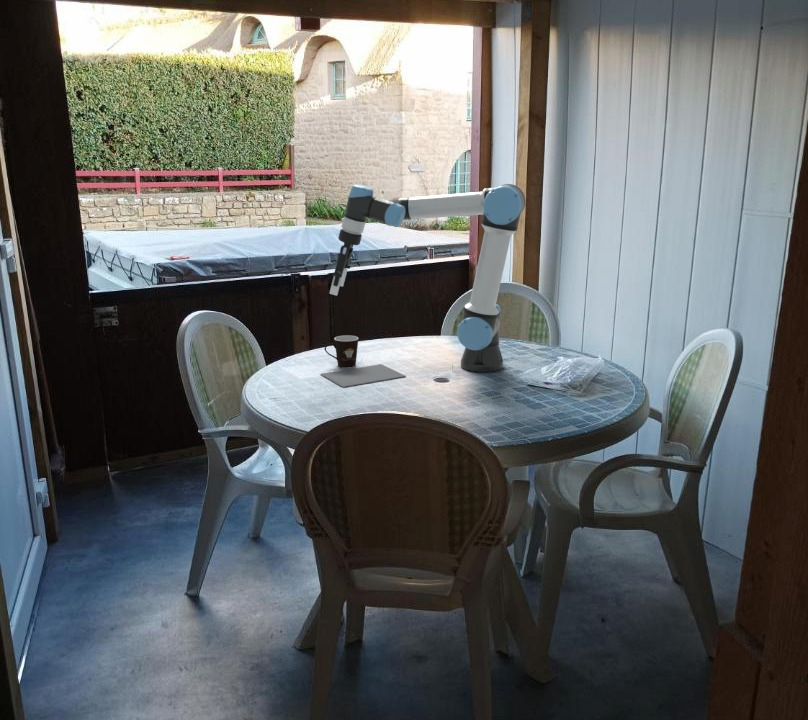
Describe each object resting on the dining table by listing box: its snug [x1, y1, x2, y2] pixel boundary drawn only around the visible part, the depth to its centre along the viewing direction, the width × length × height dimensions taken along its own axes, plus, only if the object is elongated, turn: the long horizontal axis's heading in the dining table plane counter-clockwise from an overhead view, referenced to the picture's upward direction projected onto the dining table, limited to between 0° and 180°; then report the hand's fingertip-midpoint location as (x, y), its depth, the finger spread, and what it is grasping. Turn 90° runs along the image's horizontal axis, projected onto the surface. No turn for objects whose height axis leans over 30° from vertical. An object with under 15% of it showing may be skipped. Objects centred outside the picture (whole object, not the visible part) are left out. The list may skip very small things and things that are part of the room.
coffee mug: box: [324, 335, 359, 368], centre depth 271 cm, size 12×9×10 cm
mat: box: [320, 363, 407, 388], centre depth 260 cm, size 17×24×1 cm
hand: (336, 289), depth 263 cm, fingers open, 13 cm apart
